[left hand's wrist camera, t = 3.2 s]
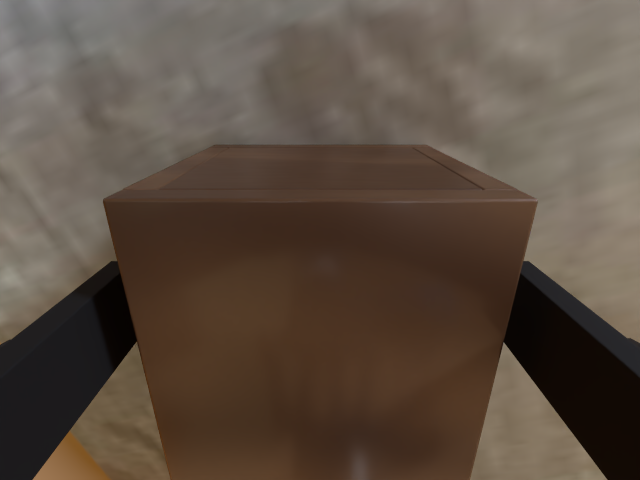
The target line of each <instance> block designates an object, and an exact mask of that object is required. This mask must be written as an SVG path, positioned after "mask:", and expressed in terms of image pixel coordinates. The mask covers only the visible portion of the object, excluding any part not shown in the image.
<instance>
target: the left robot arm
mask: <svg viewBox="0 0 640 480" xmlns="http://www.w3.org/2000/svg"><path fill="white" fill-rule="evenodd" d="M136 342H137V339H136V335H135V331H134V327H133V323H132V319H131V315H130V310H129V306H128V302H127V298H126V294H125V290H124V286H123V282H122V278H121V274H120V269H119V265H118V261H111V262H110V263H109V264H107V265H106V266H105V267H103V268H102V269H101V270H100V271H98V272H97V273H96V274H95V275H93V276H92V277H91V278H89V279H88V280H87V281H86V282H84V283H83V284H82V285H80V286H79V287H78V288H77V289H75V290H74V291H73V292H72V293H70V294H69V295H68V296H66V297H65V298H64V299H63V300H61V301H60V302H59V303H57V304H56V305H55V306H54V307H52V308H51V309H50V310H49V311H47V312H46V313H45V314H43V315H42V316H41V317H40V318H38V319H37V320H36V321H34V322H33V323H32V324H31V325H29V326H28V327H27V328H26V329H24V330H23V331H22V332H20V333H19V334H18V335H17V336H15V337H14V338H13V339H12V340H8V341H6V342H5V343H3V344H1V345H0V480H32V479H33V478H34V477H35V476H36V474H37V473H38V472H39V470H40V469H41V468H42V466H43V465H44V464H45V462H46V461H47V460H48V458H49V457H50V456H51V454H52V453H53V452H54V450H55V449H56V448H57V446H58V445H59V444H60V442H61V441H62V440H63V438H64V437H65V436H66V434H67V433H68V432H69V430H70V429H71V428H72V426H73V425H74V424H75V422H76V421H77V420H78V419H79V417H80V416H81V415H82V413H83V412H84V411H85V409H86V408H87V407H88V405H89V404H90V403H91V401H92V400H93V399H94V397H95V396H96V395H97V393H98V392H99V391H100V389H101V388H102V387H103V385H104V384H105V383H106V381H107V380H108V379H109V377H110V376H111V375H112V373H113V372H114V371H115V369H116V368H117V367H118V365H119V364H120V363H121V361H122V360H123V359H124V357H125V356H126V355H127V353H128V352H129V351H130V350H131V348H132V347H133V346H134V344H135V343H136ZM504 343H505V344H506V346H507V347H508V348H509V350H510V351H511V352H512V353H513V355H514V356H515V357H516V359H517V360H518V361H519V363H520V364H521V365H522V367H523V368H524V369H525V371H526V372H527V373H528V375H529V376H530V377H531V379H532V380H533V381H534V383H535V384H536V385H537V387H538V388H539V389H540V391H541V392H542V393H543V395H544V396H545V397H546V399H547V400H548V401H549V403H550V404H551V405H552V407H553V408H554V409H555V411H556V412H557V413H558V415H559V416H560V417H561V419H562V420H563V421H564V422H565V424H566V425H567V426H568V428H569V429H570V430H571V432H572V433H573V434H574V436H575V437H576V438H577V440H578V441H579V442H580V444H581V445H582V446H583V448H584V449H585V450H586V452H587V453H588V454H589V456H590V457H591V458H592V460H593V461H594V462H595V464H596V465H597V466H598V468H599V469H600V470H601V472H602V473H603V474H604V476H605V477H606V478H607V480H640V343H638V342H636V341H635V340H633V339H631V338H626V337H625V336H623V335H622V334H621V333H620V332H618V331H617V330H616V329H614V328H613V327H612V326H611V325H609V324H608V323H607V322H605V321H604V320H603V319H602V318H600V317H599V316H598V315H597V314H595V313H594V312H593V311H591V310H590V309H589V308H588V307H586V306H585V305H584V304H582V303H581V302H580V301H579V300H577V299H576V298H575V297H574V296H572V295H571V294H570V293H568V292H567V291H566V290H565V289H563V288H562V287H561V286H560V285H558V284H557V283H556V282H554V281H553V280H552V279H551V278H549V277H548V276H547V275H545V274H544V273H543V272H542V271H540V270H539V269H538V268H537V267H535V266H534V265H533V264H531V263H530V262H529V261H523V264H522V268H521V272H520V276H519V280H518V285H517V289H516V293H515V297H514V301H513V305H512V309H511V313H510V317H509V321H508V325H507V330H506V334H505V338H504Z"/></svg>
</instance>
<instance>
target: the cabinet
mask: <svg viewBox="0 0 640 480" xmlns="http://www.w3.org/2000/svg"><path fill="white" fill-rule="evenodd" d="M537 203H538V202H537V199H536V198H534V197H532V196H529V195H527V194H525V193H523V192H521V191H519V190H517V189H516V188H513V187H511V186H509V185H507V184H505V183H503V182H501V181H499V180H497V179H495V178H493V177H491V176H489V175H487V174H485V173H483V172H481V171H478V170H476V169H474V168H472V167H470V166H468V165H466V164H464V163H462V162H460V161H458V160H456V159H454V158H452V157H450V156H448V155H445V154H443V153H441V152H439V151H437V150H435V149H433V148H432V147H430V146H428V145H214V146H212V147H209V148H208V149H206V150H203V151H201V152H199V153H197V154H195V155H193V156H191V157H189V158H187V159H185V160H183V161H180V162H178V163H176V164H174V165H172V166H170V167H168V168H166V169H164V170H162V171H160V172H157V173H155V174H153V175H151V176H149V177H147V178H145V179H143V180H141V181H139V182H137V183H135V184H132V185H130V186H128V187H126V188H124V189H123V190H121V191H119V192H117V193H115V194H113V195H111V196H109V197H106V198H104V200H103V204H104V208H105V212H106V216H107V220H108V224H109V228H110V232H111V237H112V241H113V245H114V249H115V253H116V257H117V261H118V265H119V269H120V274H121V278H122V282H123V286H124V290H125V294H126V298H127V302H128V306H129V310H130V315H131V319H132V323H133V327H134V331H135V335H136V339H137V343H138V347H139V351H140V356H141V360H142V364H143V368H144V372H145V376H146V380H147V384H148V388H149V392H150V397H151V401H152V405H153V409H154V413H155V417H156V421H157V425H158V429H159V433H160V438H161V442H162V446H163V450H164V454H165V458H166V462H167V466H168V470H169V474H170V479H171V480H470V477H471V473H472V469H473V464H474V460H475V456H476V452H477V448H478V444H479V440H480V436H481V432H482V428H483V424H484V419H485V415H486V411H487V407H488V403H489V399H490V395H491V391H492V387H493V383H494V379H495V374H496V370H497V366H498V362H499V358H500V354H501V350H502V346H503V342H504V338H505V334H506V330H507V325H508V321H509V317H510V313H511V309H512V305H513V301H514V297H515V293H516V289H517V285H518V280H519V276H520V272H521V268H522V264H523V260H524V256H525V252H526V248H527V244H528V240H529V236H530V231H531V227H532V223H533V219H534V215H535V211H536V207H537Z"/></svg>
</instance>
